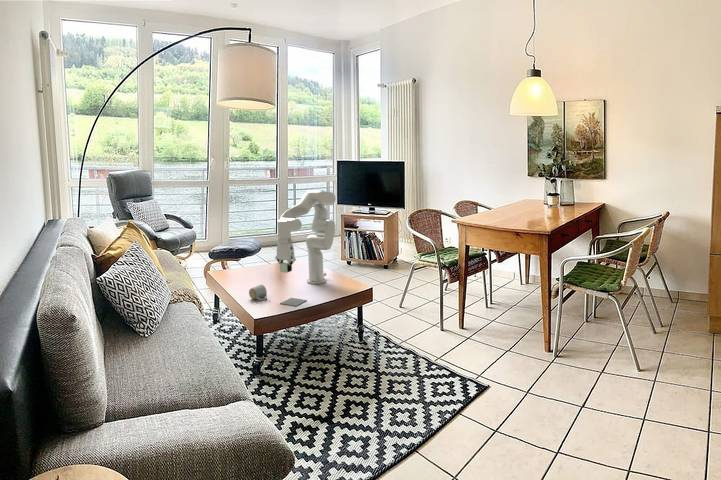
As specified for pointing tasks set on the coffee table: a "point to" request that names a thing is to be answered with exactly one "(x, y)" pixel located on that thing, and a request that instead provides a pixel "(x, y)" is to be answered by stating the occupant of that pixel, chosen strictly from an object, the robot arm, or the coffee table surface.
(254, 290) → the ceramic mug
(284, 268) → the cube
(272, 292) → the coffee table surface
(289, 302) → the coaster
